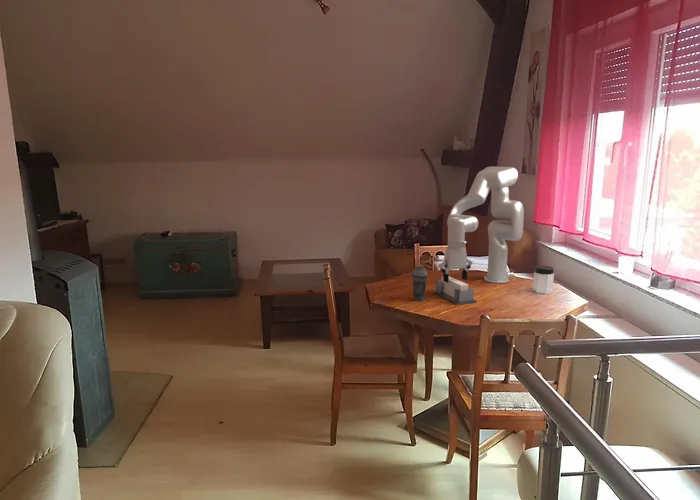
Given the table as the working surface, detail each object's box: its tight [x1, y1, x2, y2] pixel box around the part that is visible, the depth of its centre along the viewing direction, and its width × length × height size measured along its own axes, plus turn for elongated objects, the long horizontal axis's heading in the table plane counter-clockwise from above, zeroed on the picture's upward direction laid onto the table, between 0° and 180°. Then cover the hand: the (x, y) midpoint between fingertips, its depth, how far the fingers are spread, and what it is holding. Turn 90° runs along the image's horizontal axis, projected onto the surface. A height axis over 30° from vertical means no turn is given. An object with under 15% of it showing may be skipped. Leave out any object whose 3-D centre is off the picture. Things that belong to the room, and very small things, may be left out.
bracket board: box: [432, 279, 477, 306], centre depth 245 cm, size 10×22×6 cm, turn 20°
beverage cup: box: [411, 256, 428, 302], centre depth 239 cm, size 7×7×20 cm
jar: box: [532, 265, 555, 295], centre depth 254 cm, size 9×8×12 cm
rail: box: [440, 276, 469, 297], centre depth 244 cm, size 4×17×7 cm, turn 20°
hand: (455, 280), depth 244 cm, fingers open, 9 cm apart
